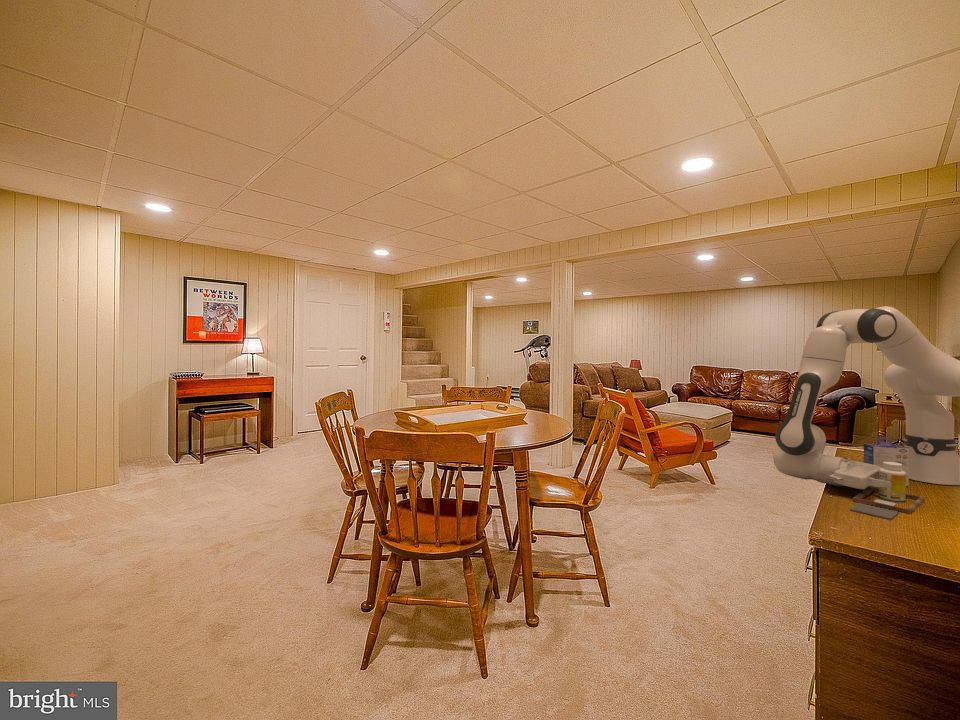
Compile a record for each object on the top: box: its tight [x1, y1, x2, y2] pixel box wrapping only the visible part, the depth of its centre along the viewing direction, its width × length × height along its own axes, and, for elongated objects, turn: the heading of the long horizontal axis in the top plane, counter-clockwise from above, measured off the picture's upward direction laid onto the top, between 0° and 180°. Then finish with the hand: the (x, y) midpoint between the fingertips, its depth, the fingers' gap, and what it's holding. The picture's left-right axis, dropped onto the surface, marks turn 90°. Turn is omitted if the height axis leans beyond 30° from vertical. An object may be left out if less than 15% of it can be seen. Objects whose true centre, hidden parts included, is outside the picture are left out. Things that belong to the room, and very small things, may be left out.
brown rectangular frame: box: [852, 486, 925, 515], centre depth 122 cm, size 18×12×1 cm, turn 126°
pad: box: [849, 502, 900, 521], centre depth 113 cm, size 8×8×1 cm
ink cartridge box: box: [863, 436, 910, 487], centre depth 138 cm, size 10×6×14 cm, turn 78°
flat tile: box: [873, 498, 897, 506], centre depth 119 cm, size 4×4×1 cm
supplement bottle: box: [878, 462, 907, 502], centre depth 124 cm, size 6×6×10 cm
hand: (896, 481), depth 123 cm, fingers open, 8 cm apart
